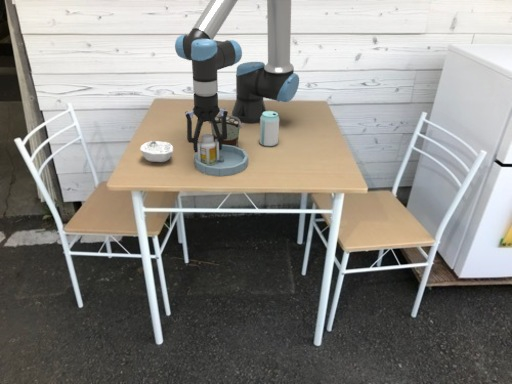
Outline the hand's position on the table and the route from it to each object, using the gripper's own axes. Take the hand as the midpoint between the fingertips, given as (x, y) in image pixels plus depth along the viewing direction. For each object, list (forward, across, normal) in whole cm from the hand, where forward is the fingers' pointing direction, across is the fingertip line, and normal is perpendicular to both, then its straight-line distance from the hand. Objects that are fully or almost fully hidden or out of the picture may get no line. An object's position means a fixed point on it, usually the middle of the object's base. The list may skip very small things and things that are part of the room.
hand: (208, 159), depth 139 cm
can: (+2, -26, -12) cm, 28 cm away
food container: (+2, -10, -16) cm, 19 cm away
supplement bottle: (+1, 0, 0) cm, 1 cm away
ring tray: (+2, -4, 0) cm, 5 cm away
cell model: (+2, +16, -7) cm, 18 cm away
